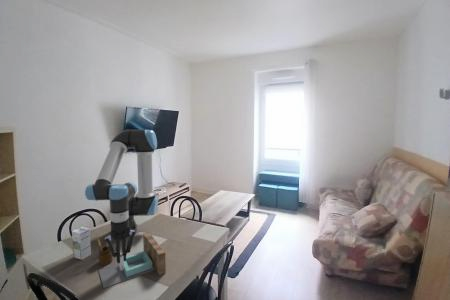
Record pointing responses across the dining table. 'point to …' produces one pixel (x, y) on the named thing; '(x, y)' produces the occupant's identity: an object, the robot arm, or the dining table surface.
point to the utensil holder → (105, 254)
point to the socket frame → (138, 268)
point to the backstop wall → (154, 253)
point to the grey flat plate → (119, 274)
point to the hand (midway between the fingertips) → (121, 268)
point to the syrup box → (81, 243)
